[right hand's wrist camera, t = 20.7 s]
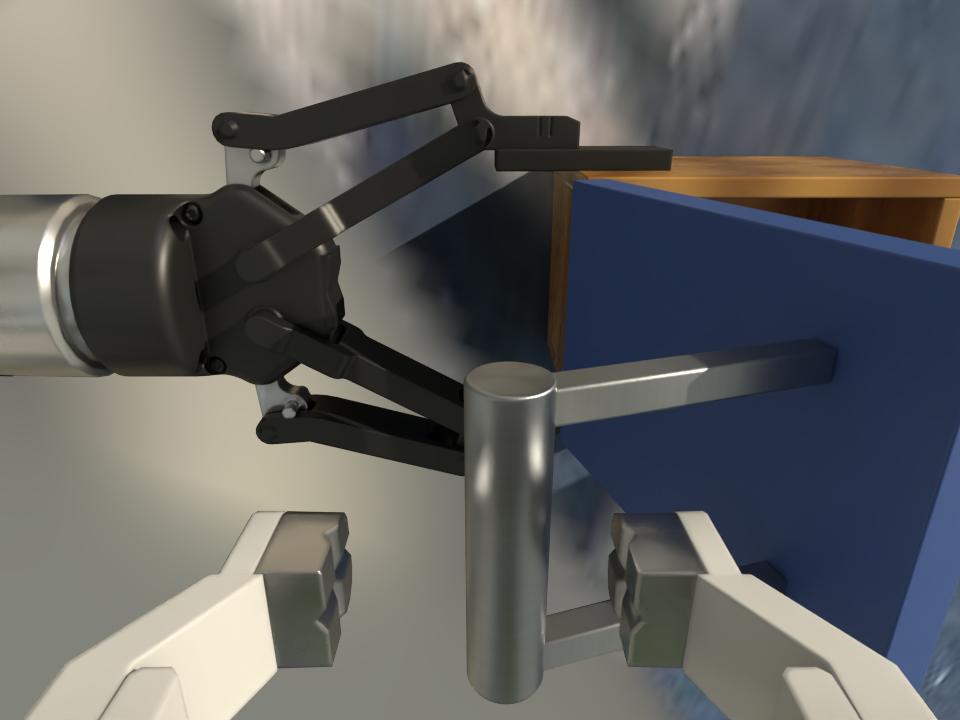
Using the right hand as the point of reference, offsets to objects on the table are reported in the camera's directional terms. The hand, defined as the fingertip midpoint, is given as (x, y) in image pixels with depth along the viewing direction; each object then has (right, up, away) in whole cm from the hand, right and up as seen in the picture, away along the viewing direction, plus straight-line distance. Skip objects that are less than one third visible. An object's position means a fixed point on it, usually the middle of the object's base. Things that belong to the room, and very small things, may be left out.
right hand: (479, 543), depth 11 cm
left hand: (+7, +6, +16) cm, 18 cm away
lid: (+6, +2, +6) cm, 9 cm away
